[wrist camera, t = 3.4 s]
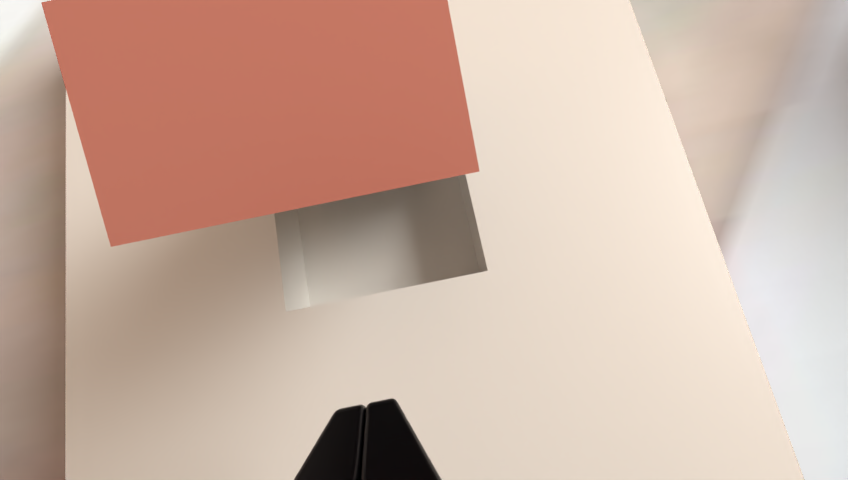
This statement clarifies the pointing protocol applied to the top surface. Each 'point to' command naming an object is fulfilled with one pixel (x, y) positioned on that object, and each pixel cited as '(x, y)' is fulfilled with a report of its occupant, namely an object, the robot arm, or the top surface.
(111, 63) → the lever
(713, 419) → the box
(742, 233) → the top surface
